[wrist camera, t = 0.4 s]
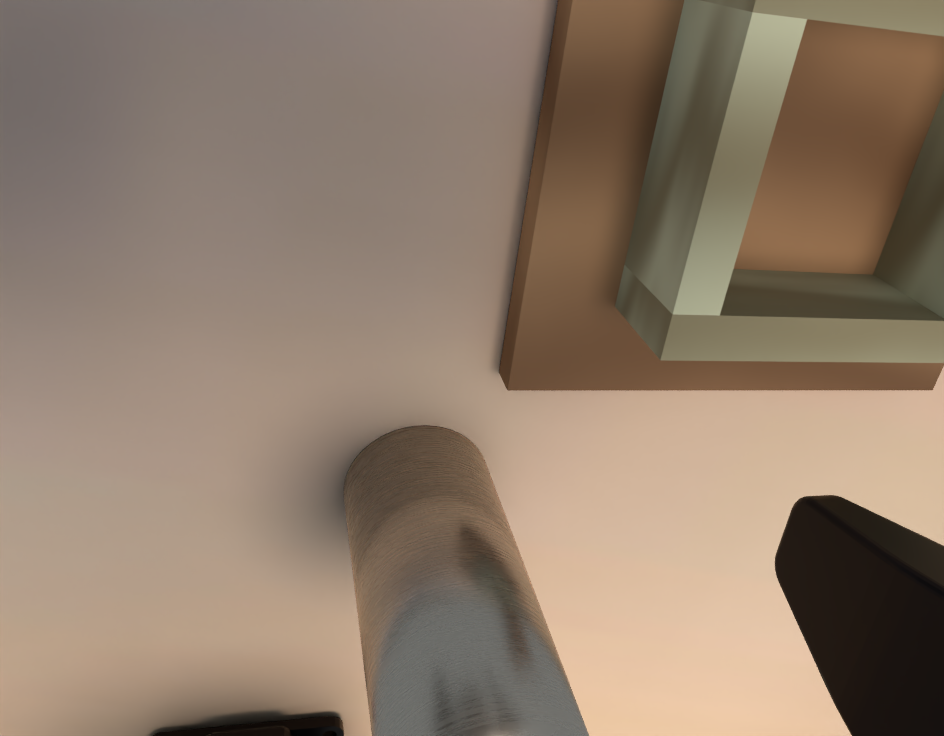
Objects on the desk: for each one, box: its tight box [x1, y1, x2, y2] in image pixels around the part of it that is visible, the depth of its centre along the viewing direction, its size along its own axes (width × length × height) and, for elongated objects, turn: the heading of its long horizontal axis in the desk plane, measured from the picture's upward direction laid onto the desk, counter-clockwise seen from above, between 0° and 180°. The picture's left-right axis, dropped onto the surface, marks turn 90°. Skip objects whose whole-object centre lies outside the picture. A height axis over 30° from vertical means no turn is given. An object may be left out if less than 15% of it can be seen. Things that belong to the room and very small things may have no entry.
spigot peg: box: [344, 426, 589, 736], centre depth 20 cm, size 4×4×10 cm
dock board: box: [499, 0, 944, 390], centre depth 20 cm, size 14×14×4 cm
